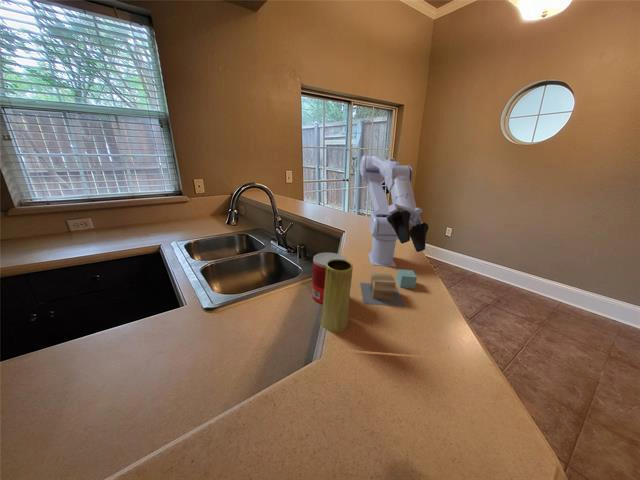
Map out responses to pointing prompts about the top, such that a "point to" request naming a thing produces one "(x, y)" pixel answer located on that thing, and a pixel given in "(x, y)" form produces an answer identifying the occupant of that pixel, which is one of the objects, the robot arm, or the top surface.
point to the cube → (406, 278)
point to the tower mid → (383, 281)
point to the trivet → (369, 300)
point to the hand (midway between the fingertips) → (413, 246)
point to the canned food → (321, 274)
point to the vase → (336, 295)
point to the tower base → (381, 294)
